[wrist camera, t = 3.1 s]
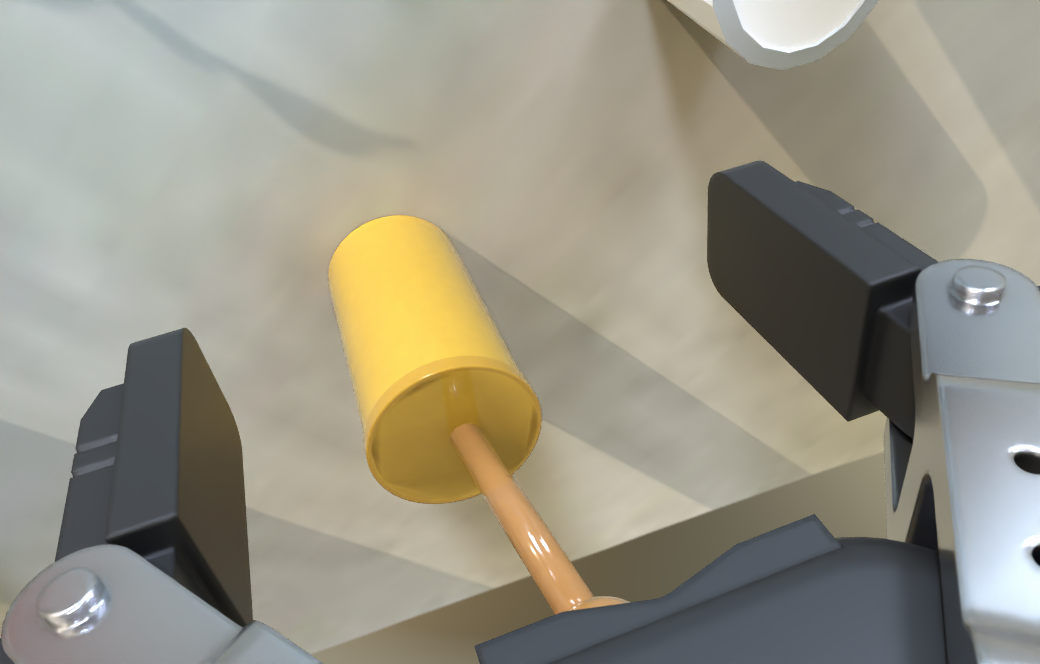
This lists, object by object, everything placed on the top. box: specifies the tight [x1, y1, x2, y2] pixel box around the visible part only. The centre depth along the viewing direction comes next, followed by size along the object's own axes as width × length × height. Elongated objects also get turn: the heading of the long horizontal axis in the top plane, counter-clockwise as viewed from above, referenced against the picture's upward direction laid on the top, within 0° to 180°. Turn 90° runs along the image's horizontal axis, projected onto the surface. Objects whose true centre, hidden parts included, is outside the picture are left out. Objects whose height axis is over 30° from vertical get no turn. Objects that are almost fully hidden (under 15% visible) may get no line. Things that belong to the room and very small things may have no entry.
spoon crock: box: [328, 215, 630, 615], centre depth 26 cm, size 6×6×22 cm
